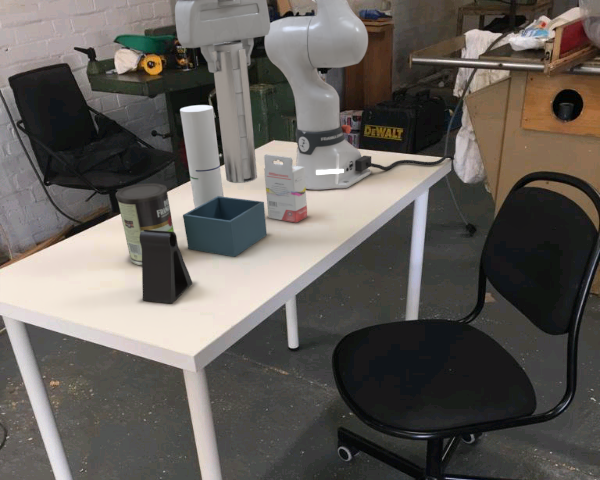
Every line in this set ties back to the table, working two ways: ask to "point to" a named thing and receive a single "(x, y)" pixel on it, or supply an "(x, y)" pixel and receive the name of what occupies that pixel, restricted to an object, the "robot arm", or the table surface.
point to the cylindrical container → (202, 153)
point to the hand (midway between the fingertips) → (230, 68)
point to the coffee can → (143, 214)
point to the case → (225, 225)
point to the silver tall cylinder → (235, 112)
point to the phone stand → (162, 267)
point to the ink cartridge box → (285, 189)
